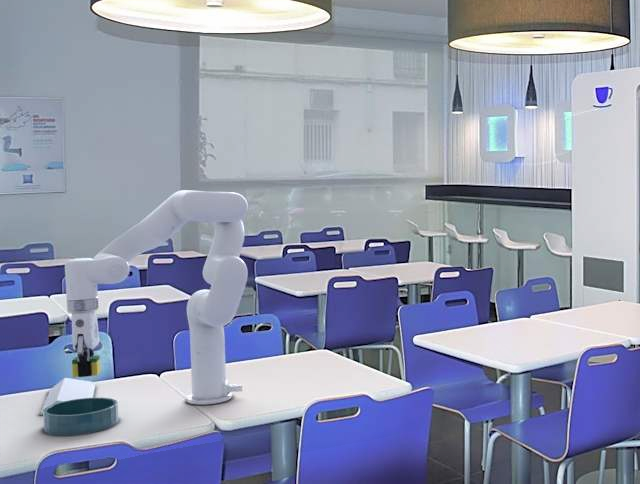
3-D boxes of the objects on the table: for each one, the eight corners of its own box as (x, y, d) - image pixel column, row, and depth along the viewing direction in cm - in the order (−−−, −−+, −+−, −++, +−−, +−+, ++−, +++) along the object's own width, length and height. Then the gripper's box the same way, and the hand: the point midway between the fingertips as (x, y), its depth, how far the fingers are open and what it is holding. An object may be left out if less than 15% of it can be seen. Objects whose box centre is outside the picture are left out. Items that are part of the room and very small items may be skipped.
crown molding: (90, 409, 244) (89, 396, 244) (41, 415, 240) (40, 402, 239) (93, 386, 271) (93, 374, 271) (50, 391, 267) (49, 379, 266)
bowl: (122, 413, 239) (122, 395, 239) (111, 432, 222) (110, 412, 222) (53, 418, 236) (52, 400, 235) (36, 438, 218) (35, 418, 218)
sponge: (100, 371, 234) (99, 355, 234) (97, 375, 230) (96, 358, 230) (76, 373, 233) (75, 357, 232) (72, 377, 229) (71, 360, 228)
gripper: (91, 309, 223) (96, 380, 224) (103, 299, 239) (107, 365, 240) (59, 311, 221) (64, 383, 222) (74, 301, 238) (78, 368, 239)
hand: (86, 373), depth 231 cm, fingers closed on sponge, 4 cm apart
